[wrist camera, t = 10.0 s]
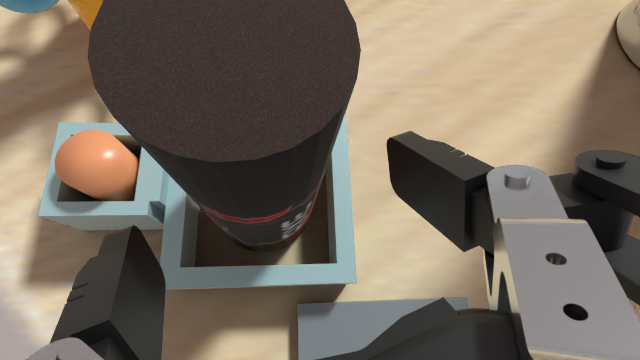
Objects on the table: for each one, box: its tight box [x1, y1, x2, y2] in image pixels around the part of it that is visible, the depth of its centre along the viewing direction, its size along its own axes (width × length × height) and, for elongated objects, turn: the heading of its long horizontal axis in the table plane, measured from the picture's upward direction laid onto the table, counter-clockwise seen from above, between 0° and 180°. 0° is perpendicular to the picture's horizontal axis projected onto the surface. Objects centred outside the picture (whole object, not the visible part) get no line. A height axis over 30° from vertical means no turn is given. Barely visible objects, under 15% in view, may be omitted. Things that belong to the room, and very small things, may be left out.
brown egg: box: [55, 130, 140, 201], centre depth 19 cm, size 3×3×4 cm
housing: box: [38, 112, 357, 290], centre depth 20 cm, size 16×10×4 cm, turn 92°
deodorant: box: [88, 0, 361, 252], centre depth 15 cm, size 6×6×15 cm
